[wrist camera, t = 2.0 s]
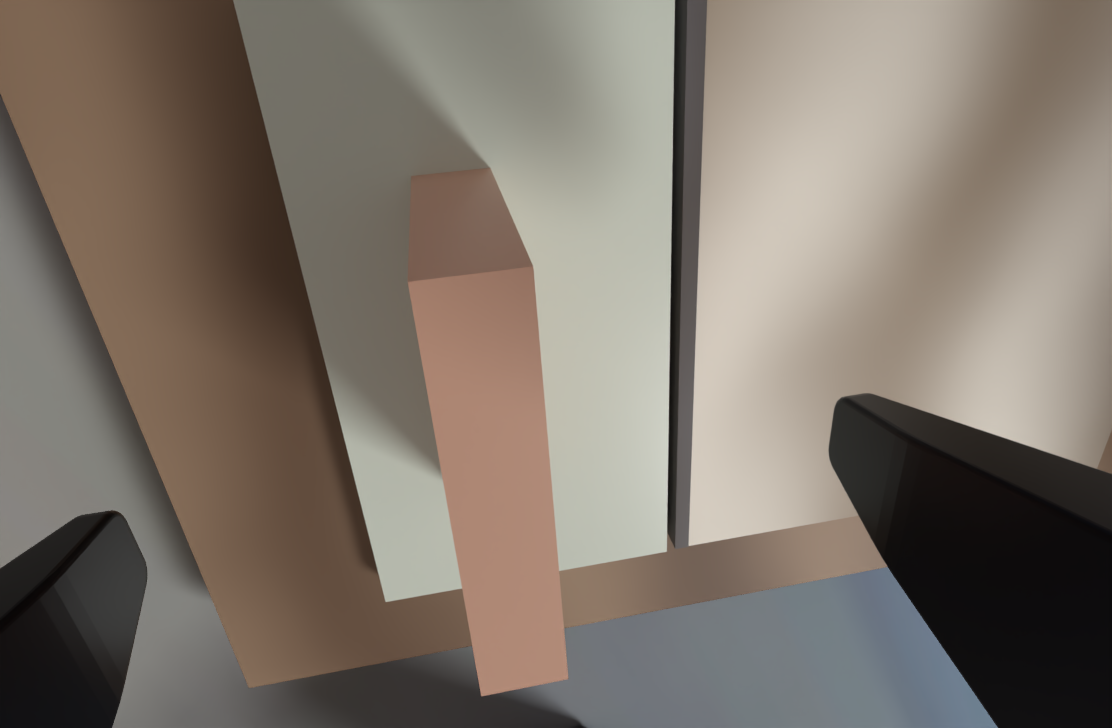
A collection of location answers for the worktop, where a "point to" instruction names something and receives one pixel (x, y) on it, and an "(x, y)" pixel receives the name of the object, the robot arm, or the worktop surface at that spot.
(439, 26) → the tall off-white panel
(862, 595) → the worktop surface
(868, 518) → the robot arm
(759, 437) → the tan backing board
